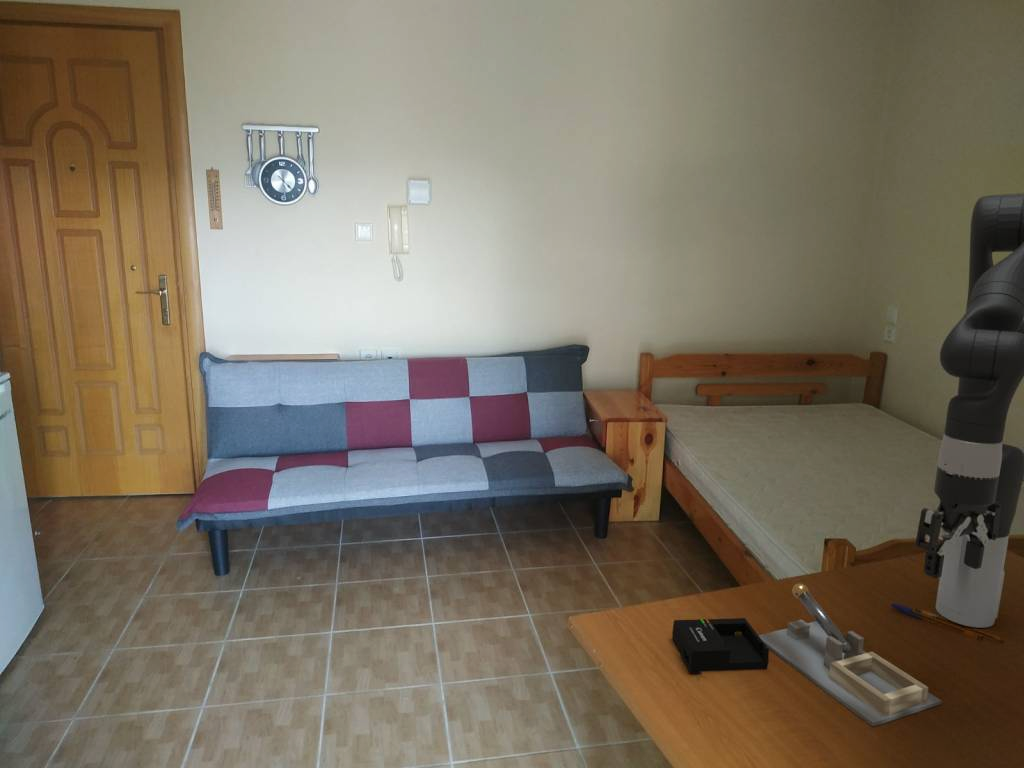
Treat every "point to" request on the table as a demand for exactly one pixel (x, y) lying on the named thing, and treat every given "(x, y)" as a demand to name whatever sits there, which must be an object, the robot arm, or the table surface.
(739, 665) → the battery charger
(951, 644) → the table surface
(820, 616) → the metal lever
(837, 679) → the grey mounting base
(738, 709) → the table surface
